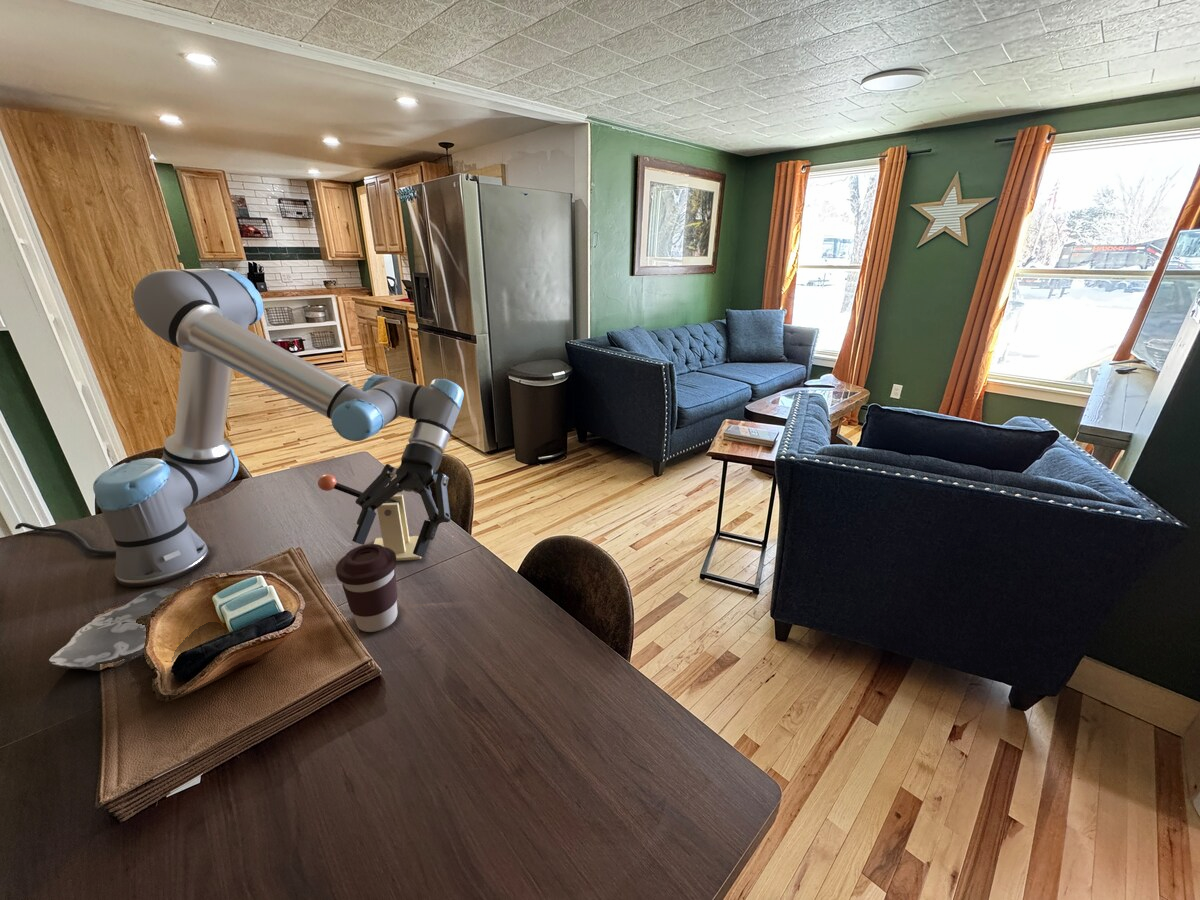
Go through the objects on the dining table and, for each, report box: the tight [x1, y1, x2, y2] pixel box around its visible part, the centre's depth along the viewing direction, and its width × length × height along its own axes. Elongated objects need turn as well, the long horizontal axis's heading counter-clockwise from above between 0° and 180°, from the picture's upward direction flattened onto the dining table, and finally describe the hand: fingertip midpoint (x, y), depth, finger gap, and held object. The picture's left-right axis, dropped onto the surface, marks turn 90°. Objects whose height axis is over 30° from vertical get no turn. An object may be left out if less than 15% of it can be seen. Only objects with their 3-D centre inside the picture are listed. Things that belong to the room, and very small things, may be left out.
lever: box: [317, 473, 400, 505], centre depth 105 cm, size 17×4×4 cm, turn 98°
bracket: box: [373, 493, 422, 561], centre depth 109 cm, size 12×9×14 cm
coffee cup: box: [335, 543, 398, 633], centre depth 88 cm, size 10×10×15 cm
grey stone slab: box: [48, 587, 181, 672], centre depth 85 cm, size 20×17×3 cm
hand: (387, 549), depth 91 cm, fingers open, 13 cm apart
